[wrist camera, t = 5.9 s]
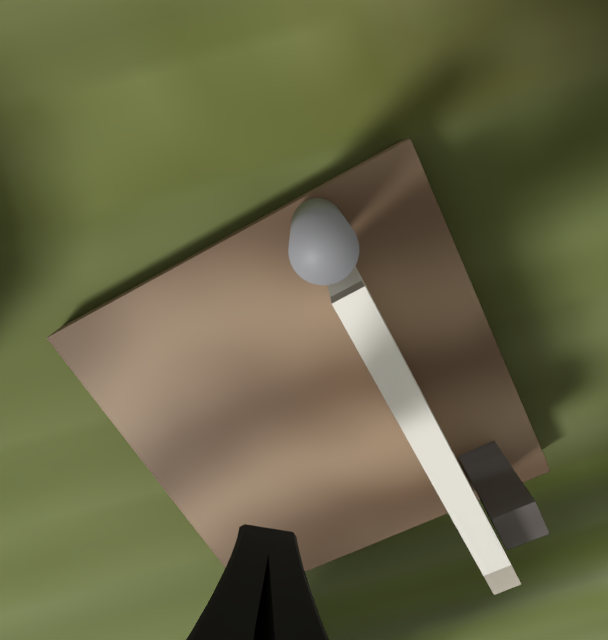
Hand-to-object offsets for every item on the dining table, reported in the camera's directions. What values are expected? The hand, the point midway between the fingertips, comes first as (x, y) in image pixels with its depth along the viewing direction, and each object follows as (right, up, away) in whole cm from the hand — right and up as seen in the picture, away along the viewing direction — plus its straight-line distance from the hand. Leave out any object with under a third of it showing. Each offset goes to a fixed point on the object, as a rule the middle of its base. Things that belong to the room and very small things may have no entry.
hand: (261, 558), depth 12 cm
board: (+1, +3, +8) cm, 9 cm away
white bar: (+5, +4, +6) cm, 9 cm away
